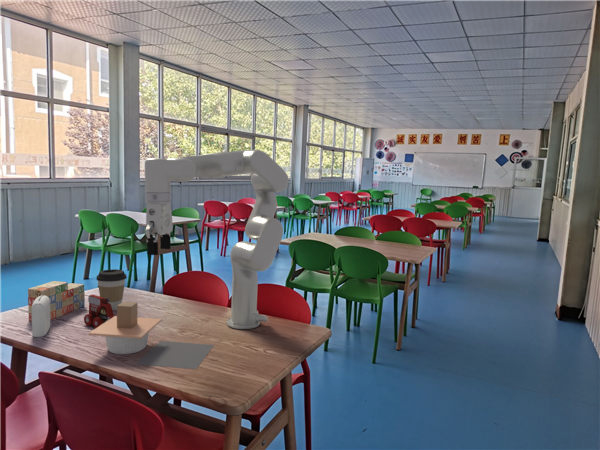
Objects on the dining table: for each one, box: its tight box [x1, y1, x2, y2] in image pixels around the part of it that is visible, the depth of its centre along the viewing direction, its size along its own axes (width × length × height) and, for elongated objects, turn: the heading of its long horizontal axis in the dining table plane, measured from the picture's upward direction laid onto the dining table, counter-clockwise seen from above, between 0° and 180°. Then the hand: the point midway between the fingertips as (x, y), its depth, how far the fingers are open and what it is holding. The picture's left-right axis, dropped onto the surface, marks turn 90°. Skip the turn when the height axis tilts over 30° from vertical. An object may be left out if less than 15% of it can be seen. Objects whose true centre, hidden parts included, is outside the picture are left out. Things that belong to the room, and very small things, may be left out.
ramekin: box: [105, 331, 150, 355], centre depth 135 cm, size 13×13×7 cm
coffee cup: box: [95, 268, 128, 311], centre depth 173 cm, size 11×11×15 cm
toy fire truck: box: [83, 294, 116, 329], centre depth 154 cm, size 7×12×10 cm, turn 60°
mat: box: [135, 340, 215, 370], centre depth 132 cm, size 18×18×1 cm
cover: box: [88, 301, 163, 339], centre depth 134 cm, size 16×16×8 cm
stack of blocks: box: [27, 280, 86, 322], centre depth 164 cm, size 21×6×12 cm, turn 167°
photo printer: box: [31, 295, 51, 338], centre depth 144 cm, size 10×4×12 cm, turn 20°
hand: (159, 251), depth 136 cm, fingers open, 9 cm apart
